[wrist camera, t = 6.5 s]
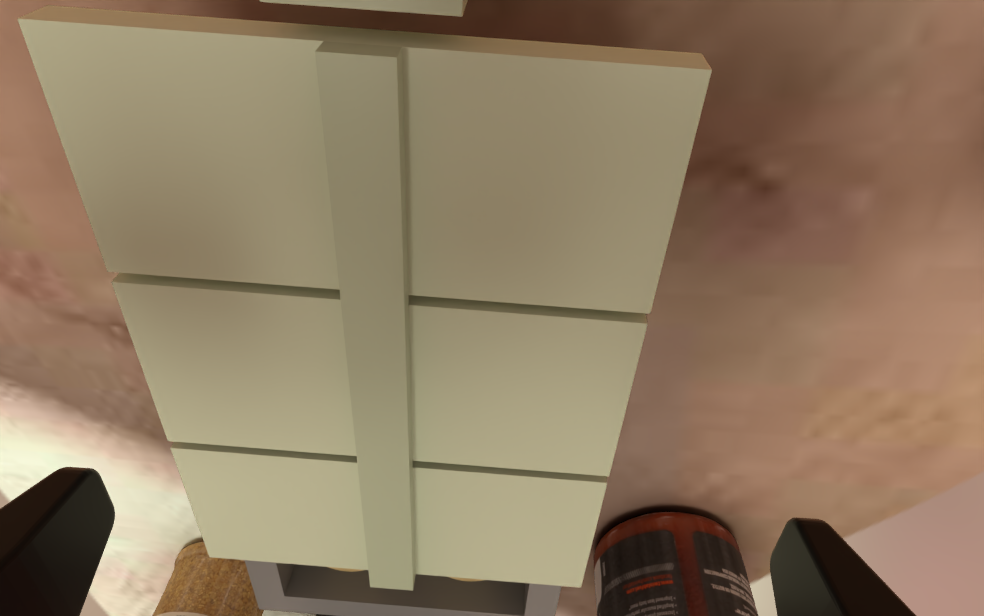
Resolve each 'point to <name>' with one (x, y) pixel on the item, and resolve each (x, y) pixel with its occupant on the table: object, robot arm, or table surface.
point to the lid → (378, 271)
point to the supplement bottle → (671, 569)
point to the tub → (392, 594)
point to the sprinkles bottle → (208, 587)
